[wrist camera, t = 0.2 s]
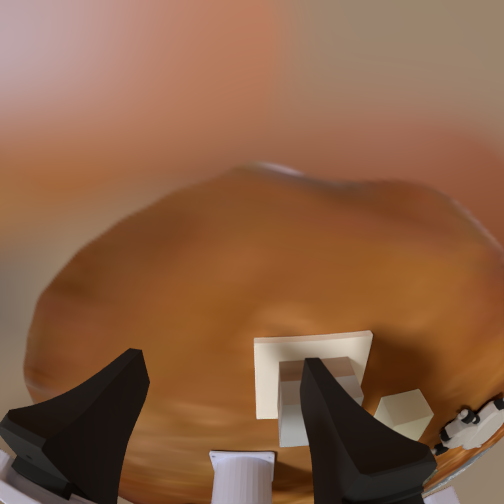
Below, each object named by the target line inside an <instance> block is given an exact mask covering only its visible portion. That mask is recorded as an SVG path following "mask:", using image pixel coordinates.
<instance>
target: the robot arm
mask: <svg viewBox="0 0 504 504" xmlns="http://www.w3.org/2000/svg"><path fill="white" fill-rule="evenodd" d="M149 384H150V381H149V377H148V373H147V369H146V365H145V361H144V357H143V353H142V350H139V349H132V348H130V349H128V350H127V351H125V352H124V353H123V354H121V355H120V356H119V357H118V358H116V359H115V360H114V361H113V362H111V363H110V364H109V365H107V366H106V367H105V368H103V369H102V370H101V371H100V372H98V373H97V374H95V375H94V376H92V377H91V378H89V379H88V380H86V381H85V382H84V383H82V384H80V385H79V386H77V387H75V388H73V389H72V390H70V391H68V392H66V393H64V394H62V395H59V396H57V397H55V398H52V399H50V400H47V401H44V402H41V403H38V404H35V405H32V406H28V407H23V408H17V409H12V410H9V411H8V413H7V414H6V415H5V417H4V418H3V420H2V421H1V422H0V435H1V437H2V438H3V439H4V440H5V442H6V443H7V444H8V445H9V447H10V448H11V449H12V450H13V451H14V452H15V453H16V454H17V457H16V458H15V459H14V458H13V457H12V456H10V455H9V454H7V453H6V452H4V451H3V450H1V449H0V500H1V501H2V502H3V503H5V504H117V497H118V488H119V482H120V475H121V470H122V465H123V460H124V456H125V452H126V448H127V444H128V441H129V438H130V435H131V433H132V431H133V428H134V426H135V423H136V421H137V419H138V416H139V414H140V412H141V409H142V407H143V404H144V402H145V399H146V395H147V392H148V388H149ZM299 391H300V403H301V411H302V416H303V420H304V425H305V429H306V434H307V438H308V443H309V447H310V453H311V460H312V472H313V486H314V504H460V502H459V499H458V497H457V495H456V492H455V490H454V488H453V486H449V487H447V488H444V489H442V490H440V491H437V492H435V493H432V494H430V495H428V496H427V497H425V498H422V495H421V493H422V492H423V491H424V489H423V486H422V483H423V482H424V481H425V480H426V479H427V478H428V477H429V476H430V475H431V474H432V473H433V472H434V471H435V469H436V467H437V463H436V460H435V458H434V456H433V453H432V451H431V450H430V448H429V446H427V445H425V444H422V443H420V442H417V441H415V440H412V439H410V438H408V437H406V436H404V435H402V434H400V433H398V432H396V431H394V430H393V429H391V428H389V427H388V426H386V425H385V424H383V423H382V422H380V421H379V420H377V419H376V418H374V417H373V416H372V415H371V414H369V413H368V412H367V411H366V410H365V409H363V408H362V407H361V406H360V405H359V404H358V403H357V402H356V401H355V400H354V399H353V398H352V397H351V396H350V395H349V394H348V393H347V392H346V391H345V390H344V388H343V387H342V386H341V385H340V384H339V383H338V382H337V380H336V379H335V378H334V377H333V375H332V374H331V373H330V371H329V370H328V369H327V367H326V366H325V365H324V363H323V362H322V361H321V359H320V358H319V357H315V358H305V360H304V366H303V372H302V378H301V384H300V390H299ZM209 455H210V458H211V461H212V465H213V468H214V471H215V476H214V485H213V494H212V502H211V504H272V485H271V482H272V481H273V474H274V458H275V453H274V452H225V451H210V453H209Z"/></svg>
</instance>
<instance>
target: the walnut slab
mask: <svg viewBox="0 0 504 504" xmlns="http://www.w3.org/2000/svg"><path fill="white" fill-rule="evenodd" d="M321 361H322V362H323V363H324V365H325V366H326V367H327V369H328V370H329V371H330V373H331V374H332V375H333V377H334V378H335V377H343V376H351V375H355V372H354V370H353V367H352V365H351V363H350V360H349V358H348V356H346V357H336V358H325V359H321ZM303 366H304V360H299V361H279V370H278V399H277V411H278V425H279V409H280V387H281V382H285V381H301V378H302V372H303Z"/></svg>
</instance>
